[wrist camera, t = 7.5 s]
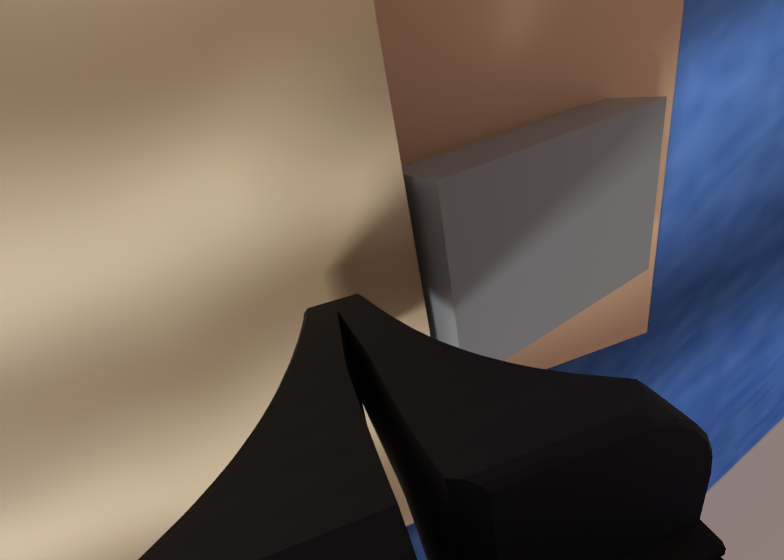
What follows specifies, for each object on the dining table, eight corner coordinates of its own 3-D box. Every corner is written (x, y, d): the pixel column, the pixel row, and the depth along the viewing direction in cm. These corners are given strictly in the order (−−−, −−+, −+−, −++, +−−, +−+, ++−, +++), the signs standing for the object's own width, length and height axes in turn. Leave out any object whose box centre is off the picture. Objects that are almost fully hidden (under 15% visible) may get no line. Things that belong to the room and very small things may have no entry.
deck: (421, 426, 19) (459, 504, 15) (82, 552, 17) (37, 677, 13) (315, -87, 11) (344, -168, 7) (-389, 12, 8) (-852, -40, 5)
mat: (641, 329, 21) (646, 332, 20) (428, 406, 19) (431, 411, 18) (686, -96, 13) (695, -100, 13) (343, -41, 11) (345, -45, 11)
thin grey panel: (599, 254, 18) (648, 268, 16) (423, 355, 14) (464, 386, 12) (606, 98, 15) (666, 96, 13) (389, 171, 11) (437, 180, 10)
